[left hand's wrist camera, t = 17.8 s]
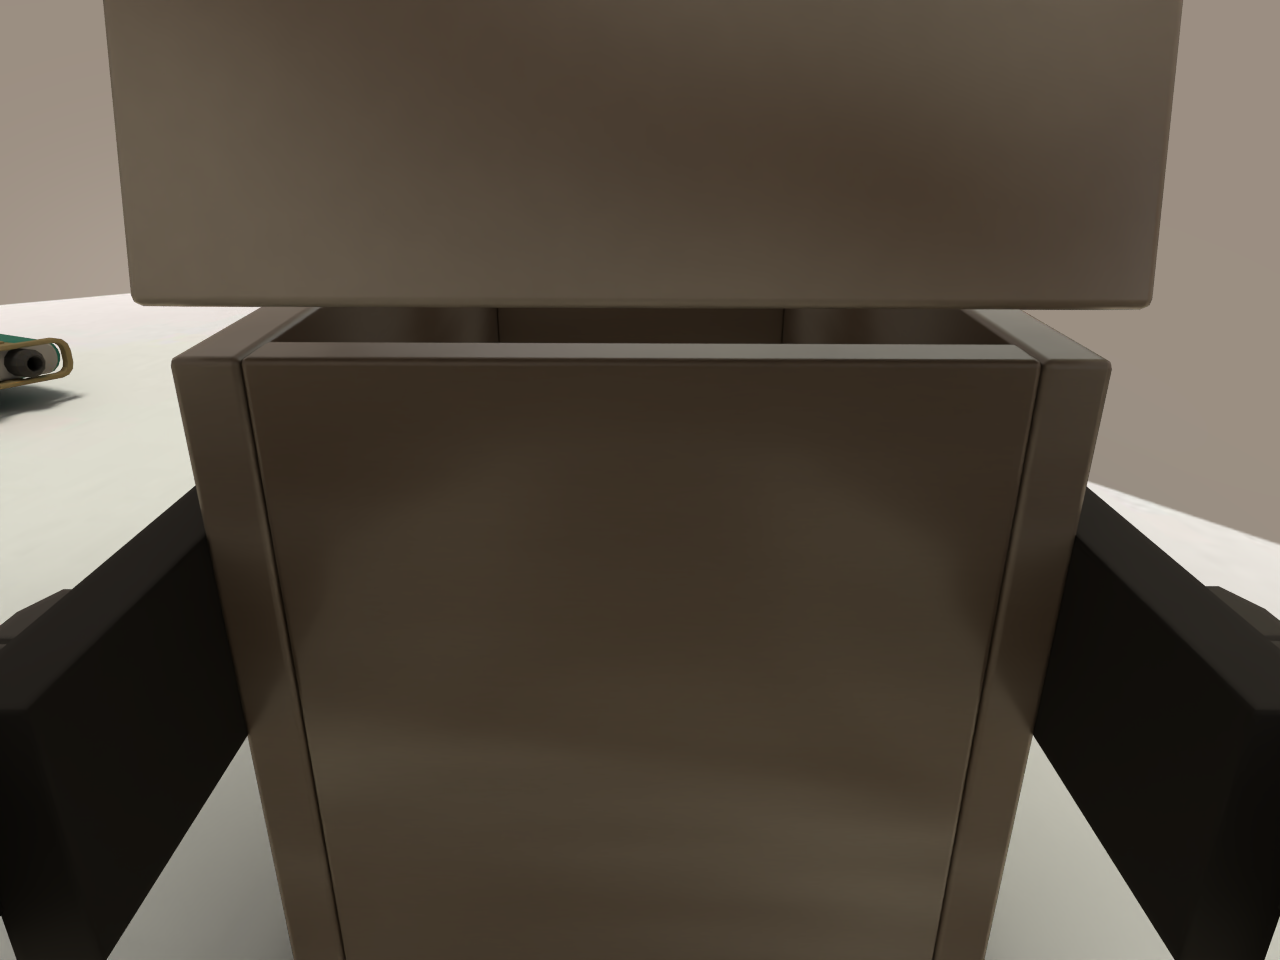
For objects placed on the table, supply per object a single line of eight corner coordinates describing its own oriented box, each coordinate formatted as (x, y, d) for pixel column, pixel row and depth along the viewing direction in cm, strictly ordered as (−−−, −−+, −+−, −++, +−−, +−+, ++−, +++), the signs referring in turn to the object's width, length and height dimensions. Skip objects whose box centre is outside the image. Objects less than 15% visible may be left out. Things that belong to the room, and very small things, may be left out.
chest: (490, 527, 29) (467, 186, 25) (789, 528, 29) (814, 187, 25) (311, 1053, 13) (165, 358, 9) (966, 1055, 13) (1117, 362, 9)
